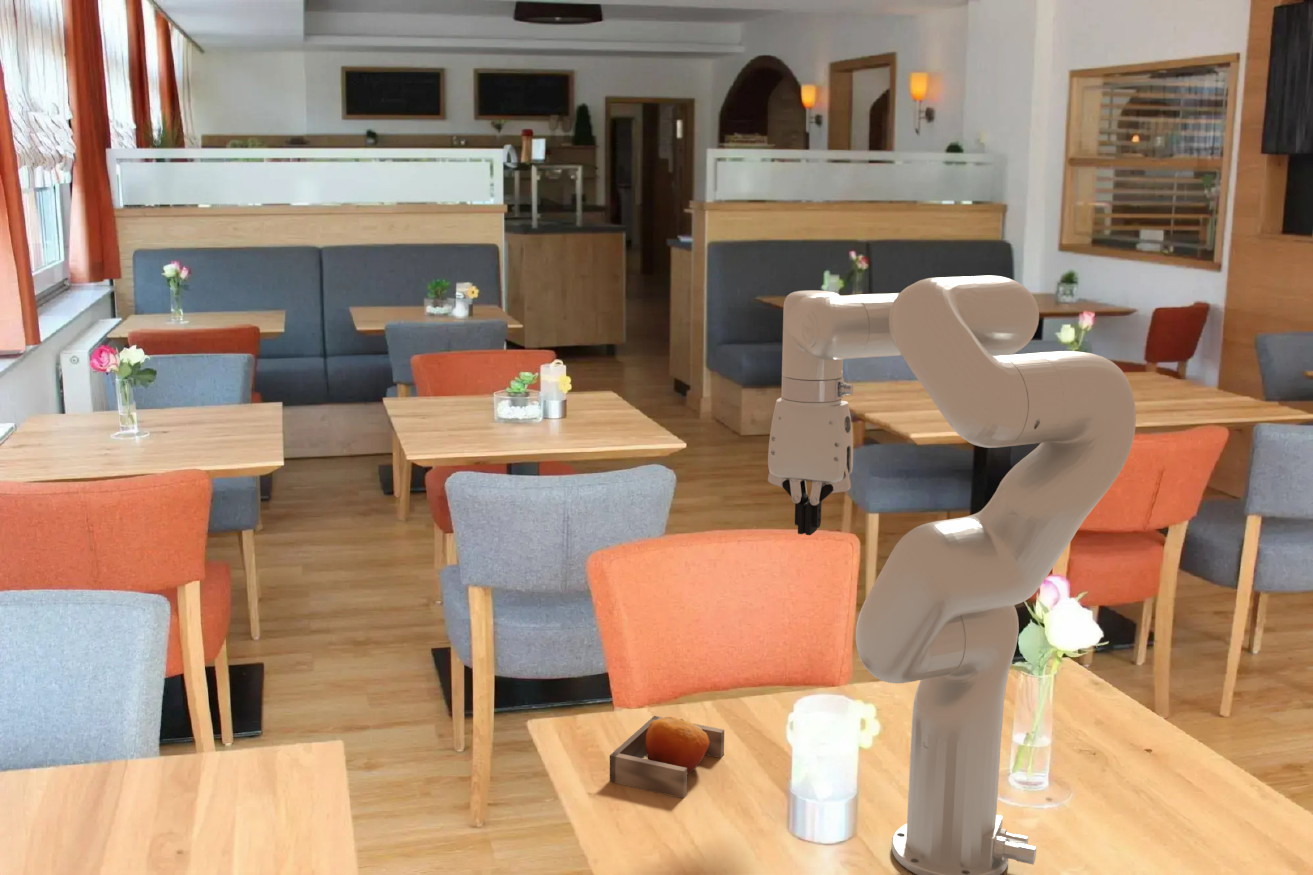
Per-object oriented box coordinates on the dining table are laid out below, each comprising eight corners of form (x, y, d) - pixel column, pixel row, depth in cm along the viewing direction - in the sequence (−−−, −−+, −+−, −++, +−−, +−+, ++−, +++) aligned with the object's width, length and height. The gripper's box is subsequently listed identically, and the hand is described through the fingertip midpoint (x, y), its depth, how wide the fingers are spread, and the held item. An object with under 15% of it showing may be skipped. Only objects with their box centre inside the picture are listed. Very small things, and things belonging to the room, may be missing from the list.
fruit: (624, 769, 160) (641, 706, 162) (652, 778, 166) (668, 717, 168) (680, 785, 156) (697, 720, 158) (706, 793, 162) (723, 731, 164)
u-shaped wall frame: (723, 754, 167) (724, 729, 166) (683, 798, 155) (683, 771, 155) (654, 740, 171) (654, 715, 170) (609, 781, 160) (609, 755, 159)
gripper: (878, 390, 161) (872, 532, 165) (765, 381, 167) (762, 518, 171) (861, 400, 154) (855, 547, 158) (744, 390, 160) (742, 532, 164)
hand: (807, 531), depth 164 cm, fingers closed
